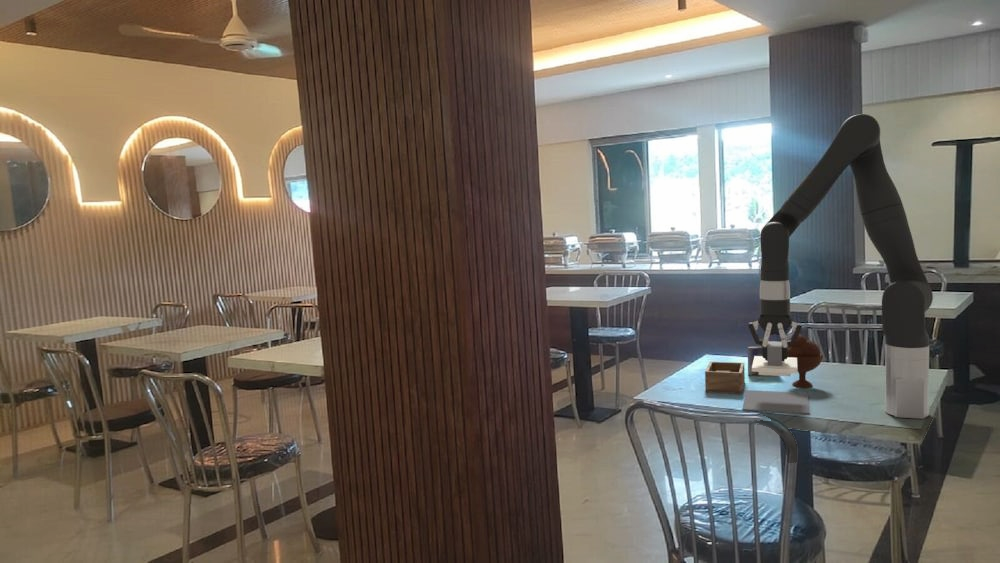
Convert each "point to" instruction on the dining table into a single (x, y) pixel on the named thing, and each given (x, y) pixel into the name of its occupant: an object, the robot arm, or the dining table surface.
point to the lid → (774, 362)
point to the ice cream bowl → (804, 359)
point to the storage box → (725, 377)
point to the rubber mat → (776, 402)
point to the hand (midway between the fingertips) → (775, 360)
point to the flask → (751, 353)
